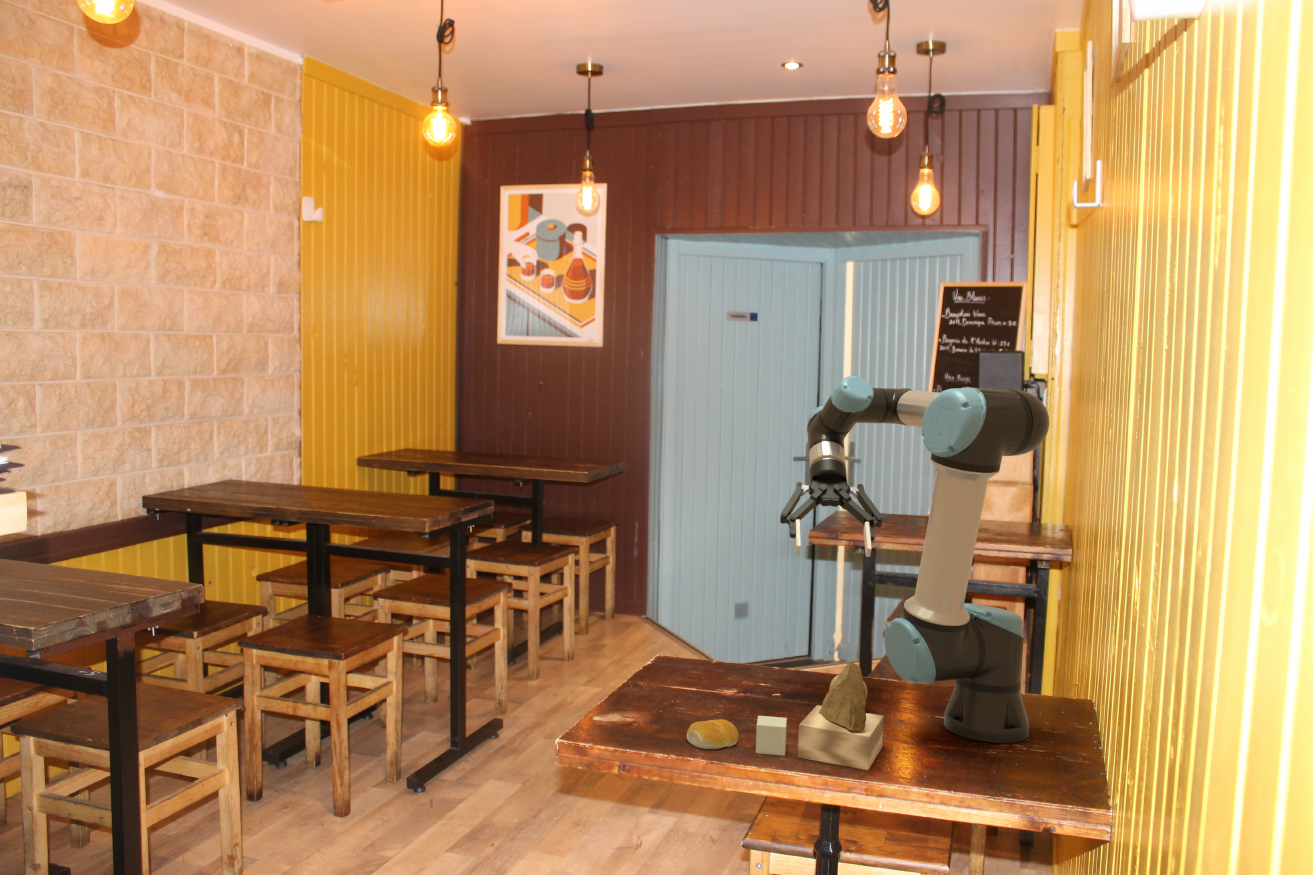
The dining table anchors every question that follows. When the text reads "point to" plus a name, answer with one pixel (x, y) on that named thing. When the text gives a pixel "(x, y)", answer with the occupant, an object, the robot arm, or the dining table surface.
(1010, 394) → the robot arm
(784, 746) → the pale cream cube
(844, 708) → the rock
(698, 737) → the bread roll
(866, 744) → the beech block
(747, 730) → the dining table surface
